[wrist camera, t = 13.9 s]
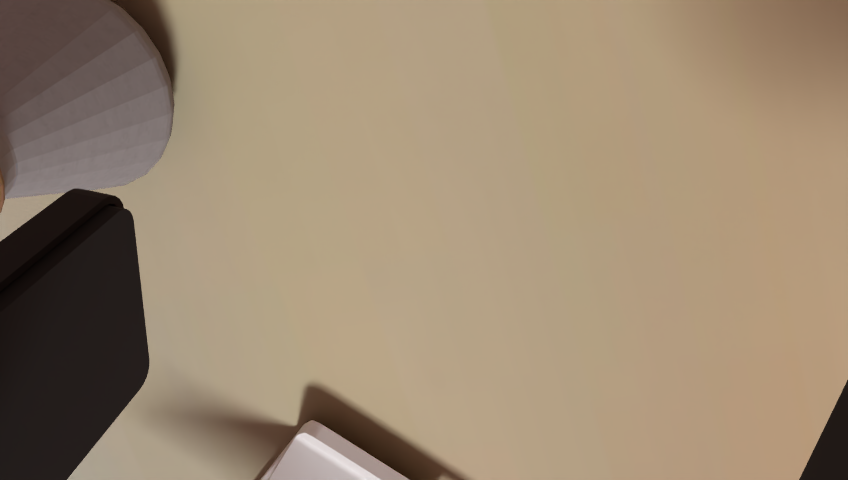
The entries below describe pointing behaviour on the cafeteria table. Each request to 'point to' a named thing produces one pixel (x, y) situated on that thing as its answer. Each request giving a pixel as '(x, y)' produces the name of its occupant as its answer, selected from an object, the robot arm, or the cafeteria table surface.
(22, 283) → the robot arm
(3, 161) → the coffee pot
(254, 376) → the cafeteria table surface
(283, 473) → the tablet stand
